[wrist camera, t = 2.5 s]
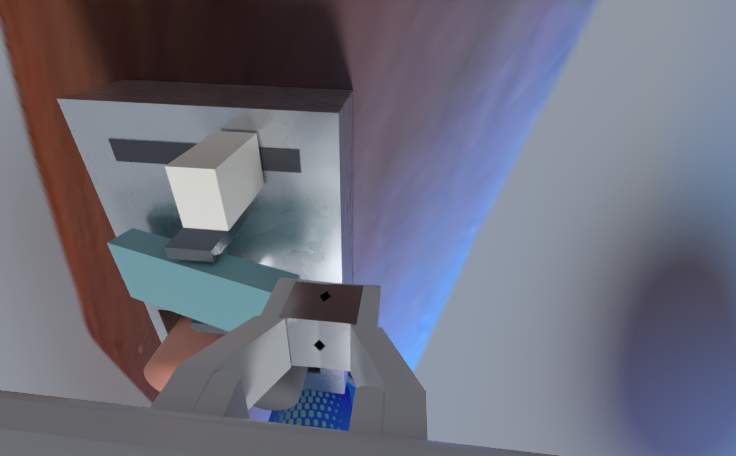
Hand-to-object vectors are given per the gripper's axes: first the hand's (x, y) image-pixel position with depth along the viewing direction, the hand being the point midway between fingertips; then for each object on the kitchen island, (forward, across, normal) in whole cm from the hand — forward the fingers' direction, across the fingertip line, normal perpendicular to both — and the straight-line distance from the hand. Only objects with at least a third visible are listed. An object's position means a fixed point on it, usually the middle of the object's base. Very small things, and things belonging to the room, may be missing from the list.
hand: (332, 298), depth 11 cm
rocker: (+6, +8, +6) cm, 12 cm away
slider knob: (+9, +6, -1) cm, 11 cm away
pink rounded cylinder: (+12, +12, +14) cm, 22 cm away
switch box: (+14, +8, +8) cm, 18 cm away
